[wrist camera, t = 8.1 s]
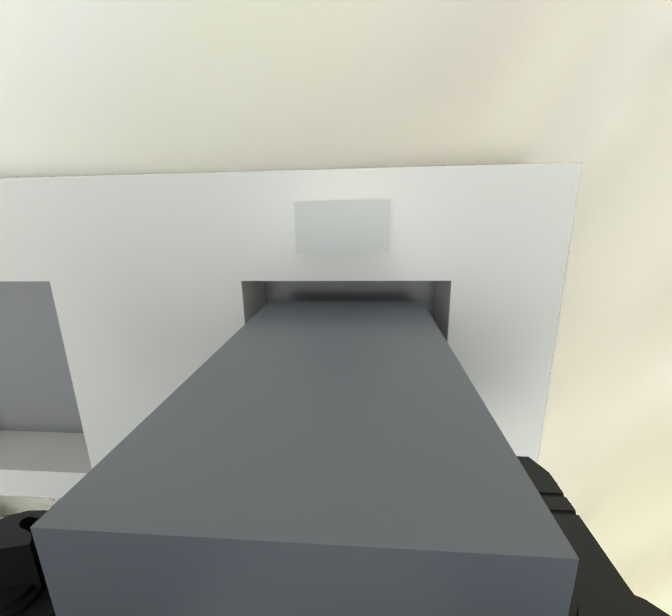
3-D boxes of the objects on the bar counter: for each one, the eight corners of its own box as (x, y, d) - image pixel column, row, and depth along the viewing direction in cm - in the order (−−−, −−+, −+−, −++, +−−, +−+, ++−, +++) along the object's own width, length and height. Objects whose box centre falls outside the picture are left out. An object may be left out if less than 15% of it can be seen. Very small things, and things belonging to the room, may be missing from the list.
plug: (288, 432, 15) (132, 877, 5) (279, 291, 14) (30, 527, 3) (410, 436, 15) (505, 929, 5) (416, 291, 13) (578, 558, 3)
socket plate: (-34, 438, 18) (-149, 504, 14) (-114, 190, 15) (-290, 182, 11) (495, 457, 16) (538, 542, 12) (527, 174, 13) (600, 158, 9)
